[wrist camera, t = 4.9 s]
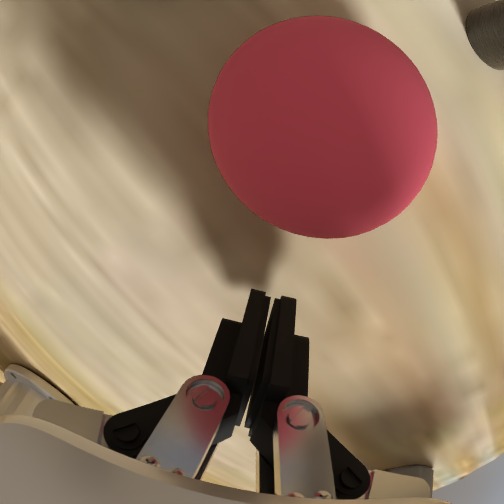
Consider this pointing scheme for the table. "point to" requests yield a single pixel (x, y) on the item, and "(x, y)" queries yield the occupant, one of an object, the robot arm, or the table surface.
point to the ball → (322, 127)
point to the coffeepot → (416, 473)
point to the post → (488, 33)
